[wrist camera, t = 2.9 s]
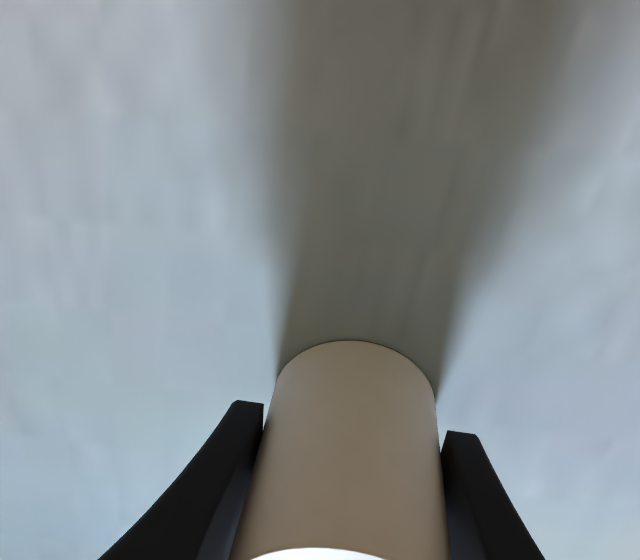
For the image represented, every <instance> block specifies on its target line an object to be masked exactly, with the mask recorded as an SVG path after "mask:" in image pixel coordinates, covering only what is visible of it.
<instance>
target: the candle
mask: <svg viewBox="0 0 640 560" xmlns="http://www.w3.org/2000/svg"><path fill="white" fill-rule="evenodd" d="M228 560H452V558H451V549H450V540H449V530H448V521H447V511H446V502H445V493H444V483H443V474H442V464H441V455H440V446H439V436H438V427H437V418H436V408H435V399H434V394H433V390H432V388H431V386H430V383H429V382H428V380H427V378H426V377H425V375H424V374H423V373H422V372H421V371H420V369H419V368H418V367H417V366H416V365H415V364H414V363H412V362H411V361H410V360H409V359H407V358H406V357H404V356H403V355H401V354H399V353H397V352H395V351H394V350H392V349H389V348H386V347H384V346H381V345H377V344H373V343H369V342H362V341H335V342H328V343H324V344H321V345H317V346H314V347H312V348H310V349H307V350H305V351H304V352H302V353H300V354H298V355H297V356H296V357H295V358H293V359H292V360H291V361H290V362H289V363H288V364H287V365H286V366H285V367H284V368H283V370H282V371H281V373H280V375H279V377H278V379H277V381H276V385H275V388H274V392H273V396H272V399H271V403H270V407H269V410H268V414H267V418H266V421H265V425H264V429H263V432H262V436H261V440H260V444H259V447H258V451H257V455H256V458H255V462H254V466H253V469H252V473H251V477H250V480H249V484H248V488H247V491H246V495H245V499H244V502H243V506H242V510H241V514H240V517H239V521H238V525H237V528H236V532H235V536H234V539H233V543H232V547H231V550H230V554H229V558H228Z"/></svg>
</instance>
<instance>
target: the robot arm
mask: <svg viewBox="0 0 640 560" xmlns="http://www.w3.org/2000/svg"><path fill="white" fill-rule="evenodd" d="M263 408H264V404H262V403H255V402H248V401H241V400H236V401H235V402H233V403H232V404H231V406H230V408H229V409H228V411H227V412H226V414H225V415H224V417H223V418H222V420H221V421H220V423H219V424H218V426H217V427H216V429H215V430H214V431H213V433H212V434H211V435H210V437H209V438H208V439H207V441H206V442H205V443H204V445H203V446H202V447H201V449H200V450H199V451H198V452H197V454H196V455H195V456H194V457H193V459H192V460H191V461H190V462H189V464H188V465H187V466H186V467H185V469H184V470H183V471H182V472H181V474H180V475H179V476H178V477H177V478H176V480H175V481H174V482H173V483H172V484H171V485H170V486H169V487H168V489H167V490H166V491H165V492H164V493H163V494H162V495H161V496H160V497H159V499H158V500H157V501H156V502H155V503H154V504H153V505H152V506H151V507H150V509H149V510H148V511H147V512H146V513H145V514H144V515H143V516H142V517H141V518H140V519H139V520H138V521H137V522H136V523H135V524H134V525H133V526H132V527H131V528H130V529H129V530H128V531H127V532H126V533H125V534H124V535H123V536H122V537H121V538H120V539H119V540H118V541H117V542H116V543H115V544H114V545H113V546H112V547H111V548H110V549H109V550H108V551H106V552H105V553H104V554H103V555H102V556H101V557H100V558H99V559H98V560H228V558H229V554H230V550H231V547H232V543H233V539H234V536H235V532H236V528H237V525H238V521H239V517H240V514H241V510H242V506H243V502H244V499H245V495H246V491H247V488H248V484H249V480H250V477H251V473H252V469H253V466H254V462H255V458H256V455H257V451H258V447H259V444H260V440H261V436H262V432H263ZM440 455H441V464H442V474H443V483H444V493H445V502H446V511H447V521H448V530H449V540H450V549H451V558H452V560H545V558H544V556H543V555H542V553H541V552H540V550H539V548H538V547H537V545H536V544H535V542H534V540H533V539H532V537H531V535H530V534H529V532H528V530H527V529H526V527H525V525H524V523H523V522H522V520H521V518H520V516H519V515H518V513H517V511H516V510H515V508H514V506H513V504H512V503H511V501H510V499H509V497H508V495H507V493H506V492H505V490H504V488H503V486H502V484H501V482H500V480H499V478H498V476H497V475H496V473H495V471H494V469H493V467H492V465H491V463H490V461H489V459H488V457H487V455H486V453H485V451H484V448H483V446H482V444H481V442H480V440H479V438H478V437H477V436H476V435H475V434H469V433H462V432H455V431H449V430H447V434H446V437H445V440H444V443H443V447H442V450H441V453H440Z"/></svg>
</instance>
